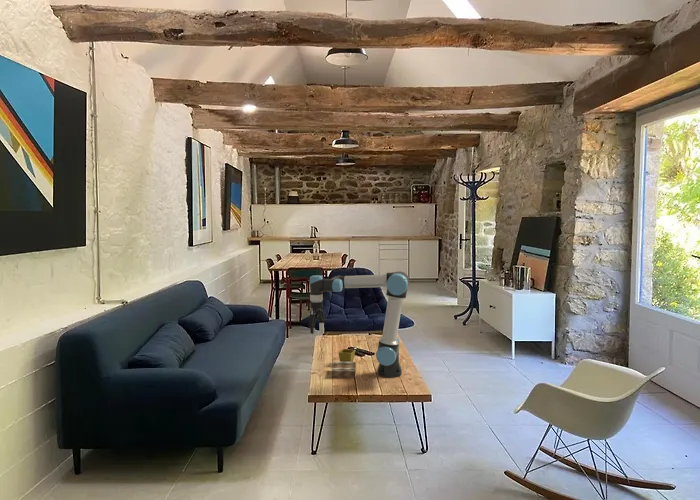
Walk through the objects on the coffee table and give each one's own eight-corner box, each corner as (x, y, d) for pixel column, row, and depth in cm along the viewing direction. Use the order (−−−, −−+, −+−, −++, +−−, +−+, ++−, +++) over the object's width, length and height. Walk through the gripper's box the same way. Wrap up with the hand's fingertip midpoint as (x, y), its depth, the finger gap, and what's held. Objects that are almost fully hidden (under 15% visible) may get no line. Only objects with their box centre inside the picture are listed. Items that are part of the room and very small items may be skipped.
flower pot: (343, 361, 326) (343, 348, 325) (355, 363, 323) (355, 349, 322) (338, 365, 318) (338, 352, 317) (351, 367, 315) (350, 353, 314)
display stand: (355, 370, 308) (355, 361, 308) (355, 377, 294) (355, 368, 294) (333, 370, 309) (333, 361, 308) (332, 377, 295) (332, 368, 294)
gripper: (318, 297, 306) (319, 330, 308) (301, 304, 283) (302, 340, 284) (330, 298, 304) (330, 331, 305) (313, 305, 280) (314, 341, 282)
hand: (317, 336), depth 295 cm, fingers open, 13 cm apart
